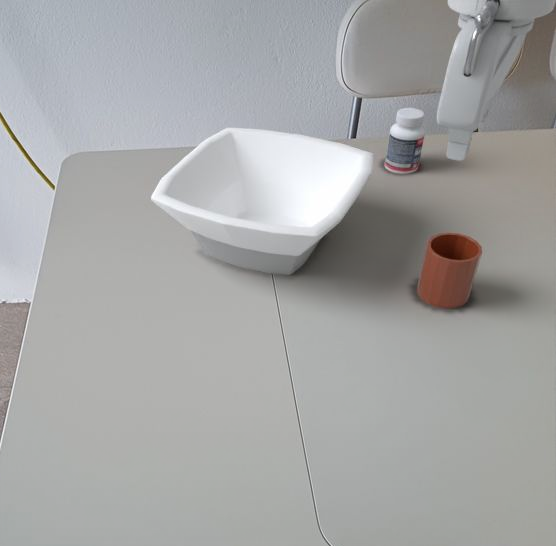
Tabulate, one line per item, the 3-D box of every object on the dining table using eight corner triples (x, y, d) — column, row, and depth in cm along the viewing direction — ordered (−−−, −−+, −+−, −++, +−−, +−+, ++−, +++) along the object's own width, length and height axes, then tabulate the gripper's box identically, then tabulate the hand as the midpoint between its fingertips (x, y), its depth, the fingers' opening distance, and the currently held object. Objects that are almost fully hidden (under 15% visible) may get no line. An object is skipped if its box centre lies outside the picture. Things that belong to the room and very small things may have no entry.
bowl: (376, 215, 93) (387, 148, 86) (316, 317, 77) (323, 245, 70) (225, 183, 102) (224, 120, 95) (142, 269, 86) (133, 200, 79)
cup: (441, 274, 82) (453, 227, 77) (478, 299, 78) (493, 250, 73) (406, 291, 80) (416, 243, 75) (442, 316, 76) (455, 268, 71)
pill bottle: (416, 177, 101) (427, 121, 95) (382, 173, 102) (391, 118, 96) (419, 161, 104) (429, 107, 98) (386, 158, 106) (394, 104, 100)
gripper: (521, 23, 48) (477, 190, 58) (559, -40, 61) (518, 105, 70) (436, 15, 51) (407, 176, 60) (490, -45, 63) (458, 96, 73)
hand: (467, 137), depth 65 cm, fingers open, 8 cm apart
